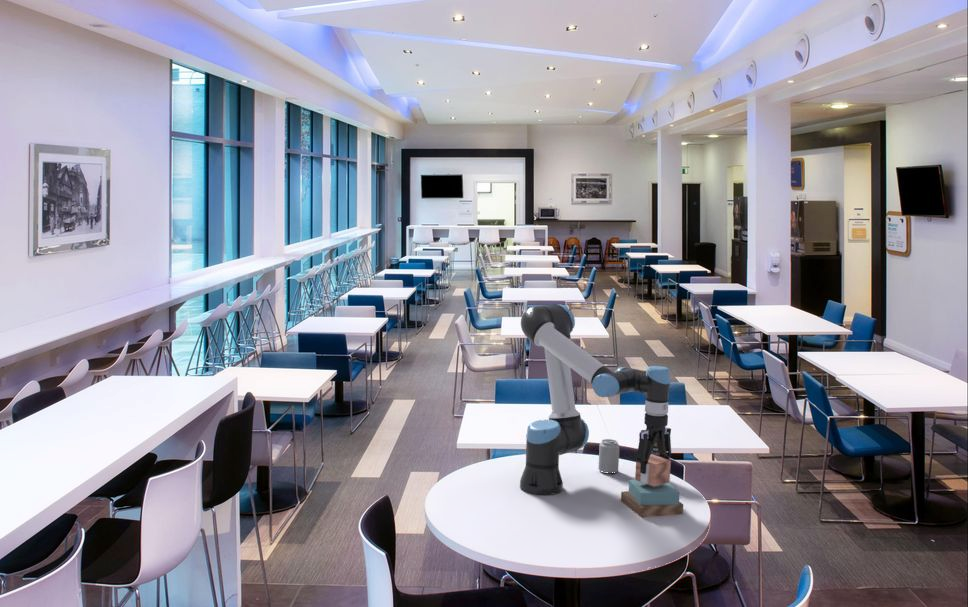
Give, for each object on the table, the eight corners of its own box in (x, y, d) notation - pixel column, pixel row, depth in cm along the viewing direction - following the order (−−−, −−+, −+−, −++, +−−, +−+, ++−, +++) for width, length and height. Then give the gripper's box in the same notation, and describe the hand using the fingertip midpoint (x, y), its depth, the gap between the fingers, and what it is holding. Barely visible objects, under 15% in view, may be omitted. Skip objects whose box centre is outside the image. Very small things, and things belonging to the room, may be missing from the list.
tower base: (641, 519, 252) (641, 507, 252) (620, 503, 267) (621, 491, 266) (682, 516, 256) (683, 504, 256) (660, 500, 271) (661, 489, 270)
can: (617, 475, 294) (619, 444, 293) (597, 473, 296) (599, 442, 295) (618, 469, 302) (620, 439, 300) (598, 467, 303) (600, 437, 302)
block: (654, 486, 256) (655, 464, 255) (635, 479, 262) (636, 458, 261) (669, 482, 261) (670, 460, 260) (650, 475, 267) (651, 454, 266)
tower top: (640, 505, 254) (640, 493, 253) (628, 491, 267) (629, 480, 266) (678, 504, 255) (679, 492, 255) (665, 491, 268) (666, 479, 268)
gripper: (645, 419, 249) (641, 489, 252) (685, 411, 262) (681, 477, 265) (626, 415, 255) (623, 482, 257) (667, 407, 268) (663, 471, 270)
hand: (652, 480), depth 261 cm, fingers closed on block, 8 cm apart
